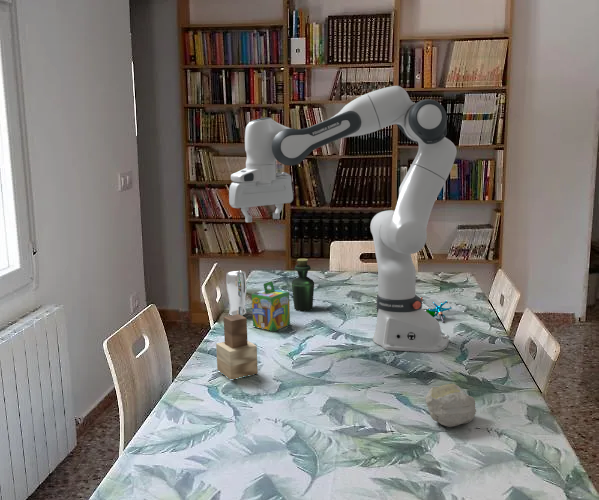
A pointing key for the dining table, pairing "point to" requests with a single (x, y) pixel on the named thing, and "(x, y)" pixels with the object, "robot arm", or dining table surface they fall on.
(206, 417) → the dining table surface
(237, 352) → the pale wooden cube
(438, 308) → the stick construction toy
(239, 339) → the walnut block
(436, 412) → the fossil replica
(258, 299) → the chalk box
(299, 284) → the potion bottle
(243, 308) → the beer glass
